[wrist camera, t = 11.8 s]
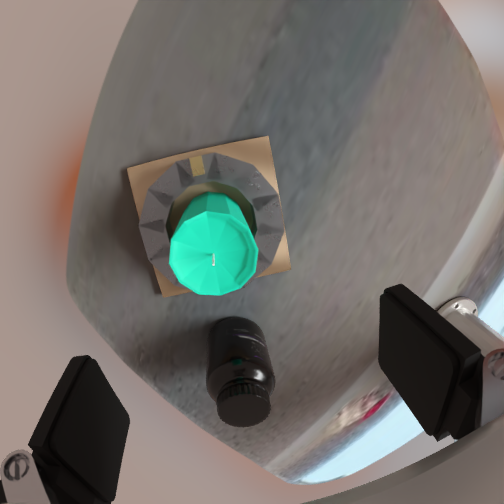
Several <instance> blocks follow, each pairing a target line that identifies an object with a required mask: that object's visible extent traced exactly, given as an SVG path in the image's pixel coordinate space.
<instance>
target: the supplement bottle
mask: <svg viewBox="0 0 504 504" xmlns="http://www.w3.org/2000/svg"><path fill="white" fill-rule="evenodd" d="M206 386H207V391H208V393H209V395H210V396H211V398H212V399H213V400H214V401H215V402H216V404H217V412H218V416H219V417H220V419H222V421H223V422H225V423H226V424H229V425H232V426H234V427H249V426H254V425H256V424H259V423H260V422H262V421H263V420H265V419H266V418H267V417H268V415H269V414H270V410H271V408H270V407H271V405H270V398H269V397H270V396H271V394H272V392H273V390H274V387H275V376H274V372H273V368H272V364H271V360H270V357H269V353H268V349H267V345H266V341H265V338H264V335H263V332H262V330H261V329H260V327H259V326H258V325H257V324H256V323H254V322H253V321H251V320H248V319H245V318H240V317H233V318H228V319H225V320H222V321H220V322H219V323H217V324H216V325H215V326H214V327H213V328H212V329H211V331H210V333H209V335H208V339H207V365H206Z"/></svg>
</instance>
